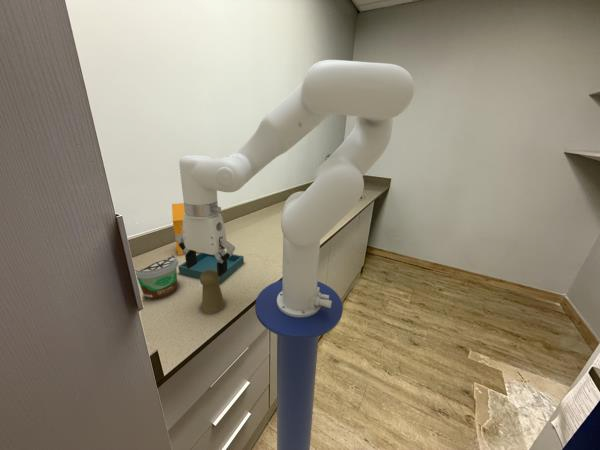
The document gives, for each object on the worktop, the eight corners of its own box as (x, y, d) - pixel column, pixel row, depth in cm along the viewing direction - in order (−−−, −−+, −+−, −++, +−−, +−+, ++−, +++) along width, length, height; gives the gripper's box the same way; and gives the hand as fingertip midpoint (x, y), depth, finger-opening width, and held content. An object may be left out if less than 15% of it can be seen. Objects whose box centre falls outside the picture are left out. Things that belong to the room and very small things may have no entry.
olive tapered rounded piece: (228, 304, 69) (226, 271, 66) (211, 316, 65) (207, 281, 61) (215, 296, 73) (211, 264, 69) (197, 307, 68) (192, 273, 64)
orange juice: (180, 246, 103) (172, 201, 96) (202, 244, 106) (196, 200, 99) (177, 255, 96) (170, 206, 89) (201, 252, 99) (195, 205, 92)
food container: (152, 307, 67) (145, 276, 64) (139, 300, 70) (132, 270, 66) (190, 285, 77) (186, 257, 74) (178, 280, 80) (173, 252, 77)
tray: (243, 263, 92) (243, 256, 91) (220, 284, 79) (219, 276, 78) (207, 255, 96) (206, 248, 95) (179, 273, 83) (178, 266, 82)
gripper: (241, 209, 59) (242, 270, 65) (184, 200, 64) (190, 257, 70) (222, 218, 53) (226, 284, 59) (160, 207, 58) (170, 269, 64)
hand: (206, 269), depth 64 cm, fingers open, 9 cm apart
